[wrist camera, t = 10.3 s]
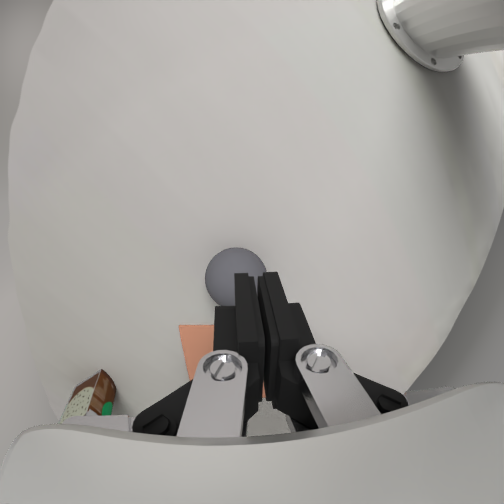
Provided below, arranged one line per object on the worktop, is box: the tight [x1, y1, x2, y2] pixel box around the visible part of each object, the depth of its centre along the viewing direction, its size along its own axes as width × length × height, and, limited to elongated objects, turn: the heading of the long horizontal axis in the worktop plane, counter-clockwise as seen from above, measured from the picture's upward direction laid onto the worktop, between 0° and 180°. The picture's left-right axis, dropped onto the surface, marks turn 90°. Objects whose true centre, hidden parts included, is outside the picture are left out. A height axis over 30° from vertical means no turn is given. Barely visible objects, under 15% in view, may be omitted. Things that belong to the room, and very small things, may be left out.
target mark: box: [179, 325, 266, 398], centre depth 33 cm, size 14×14×1 cm
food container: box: [57, 369, 116, 424], centre depth 29 cm, size 12×6×10 cm, turn 126°
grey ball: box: [205, 248, 266, 306], centre depth 24 cm, size 6×6×6 cm
